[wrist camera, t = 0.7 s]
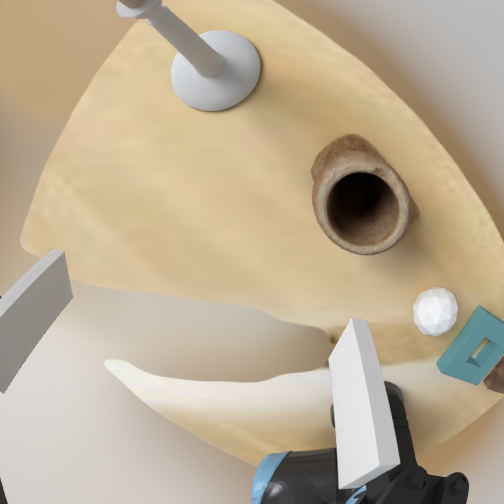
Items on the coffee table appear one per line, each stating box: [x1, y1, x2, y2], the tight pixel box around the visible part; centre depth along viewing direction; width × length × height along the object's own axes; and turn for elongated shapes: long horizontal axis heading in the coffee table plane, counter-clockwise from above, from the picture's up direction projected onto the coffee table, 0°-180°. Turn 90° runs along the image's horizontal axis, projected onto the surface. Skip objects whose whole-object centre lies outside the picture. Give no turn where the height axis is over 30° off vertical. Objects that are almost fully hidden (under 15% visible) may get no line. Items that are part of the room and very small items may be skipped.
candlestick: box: [116, 0, 261, 111], centre depth 20 cm, size 13×13×30 cm
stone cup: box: [311, 134, 419, 255], centre depth 31 cm, size 15×12×15 cm
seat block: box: [436, 306, 504, 385], centre depth 41 cm, size 14×14×3 cm
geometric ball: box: [413, 286, 458, 337], centre depth 38 cm, size 8×8×8 cm
